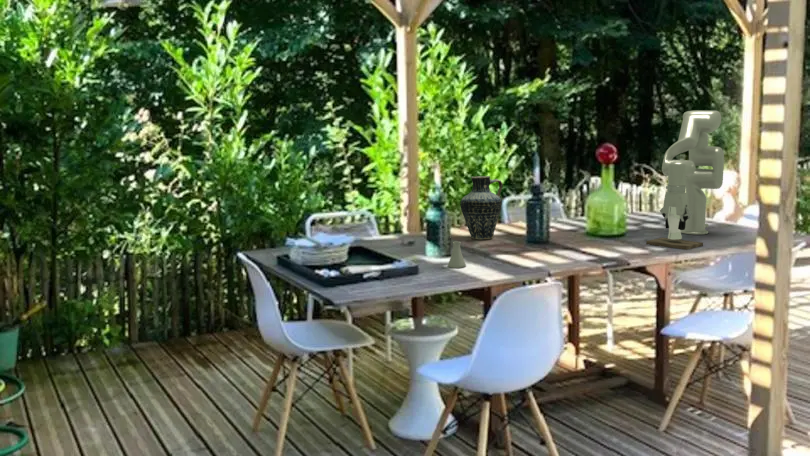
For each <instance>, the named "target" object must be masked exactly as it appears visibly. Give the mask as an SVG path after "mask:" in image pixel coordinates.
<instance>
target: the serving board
mask: <svg viewBox="0 0 810 456" xmlns="http://www.w3.org/2000/svg"><path fill="white" fill-rule="evenodd" d="M645 242H646V243H645V244H646V245H648V244H650V245H649V246H656V247H664V248H669V249H670V248H671V249H672V248H673V249H677V250H684V251H685V250H686V251H687V250H692V249H695V248H700V247H704V242H700V241H693V240H687V239H686V240H684V239H681V240H670V239H668V237H659V238H654V239H650V240H646V241H645Z"/></svg>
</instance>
